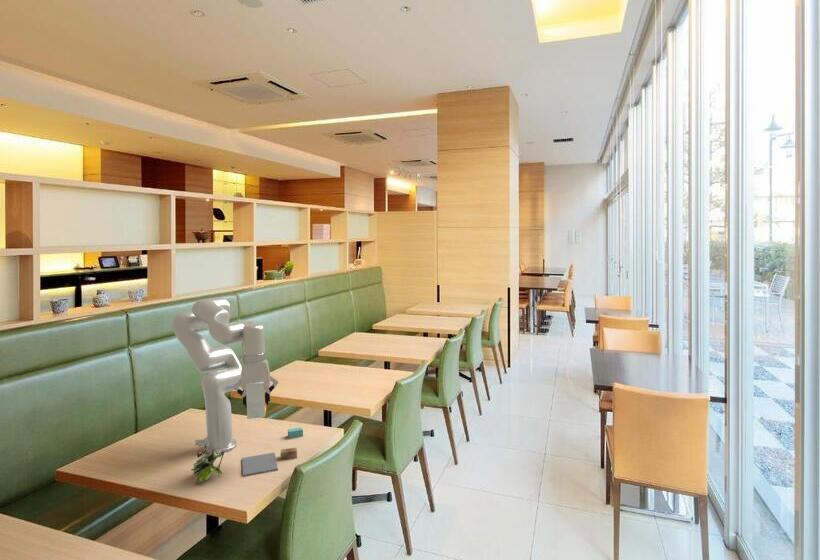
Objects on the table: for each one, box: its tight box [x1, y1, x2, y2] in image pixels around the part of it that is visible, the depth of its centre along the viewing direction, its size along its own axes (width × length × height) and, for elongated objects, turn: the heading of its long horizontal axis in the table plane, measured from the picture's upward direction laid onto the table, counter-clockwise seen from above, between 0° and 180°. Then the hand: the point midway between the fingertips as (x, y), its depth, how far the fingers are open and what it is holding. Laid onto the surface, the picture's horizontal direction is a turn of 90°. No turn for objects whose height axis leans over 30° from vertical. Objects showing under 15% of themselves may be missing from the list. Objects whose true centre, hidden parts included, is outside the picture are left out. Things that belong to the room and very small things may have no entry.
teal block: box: [287, 427, 304, 439], centre depth 201 cm, size 6×3×3 cm, turn 111°
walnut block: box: [280, 447, 298, 461], centre depth 182 cm, size 6×3×3 cm, turn 104°
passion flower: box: [190, 449, 225, 485], centre depth 168 cm, size 11×11×12 cm
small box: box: [246, 382, 267, 420], centre depth 174 cm, size 8×6×13 cm
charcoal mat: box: [241, 452, 279, 477], centre depth 176 cm, size 12×14×1 cm
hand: (256, 404), depth 174 cm, fingers closed on small box, 6 cm apart
